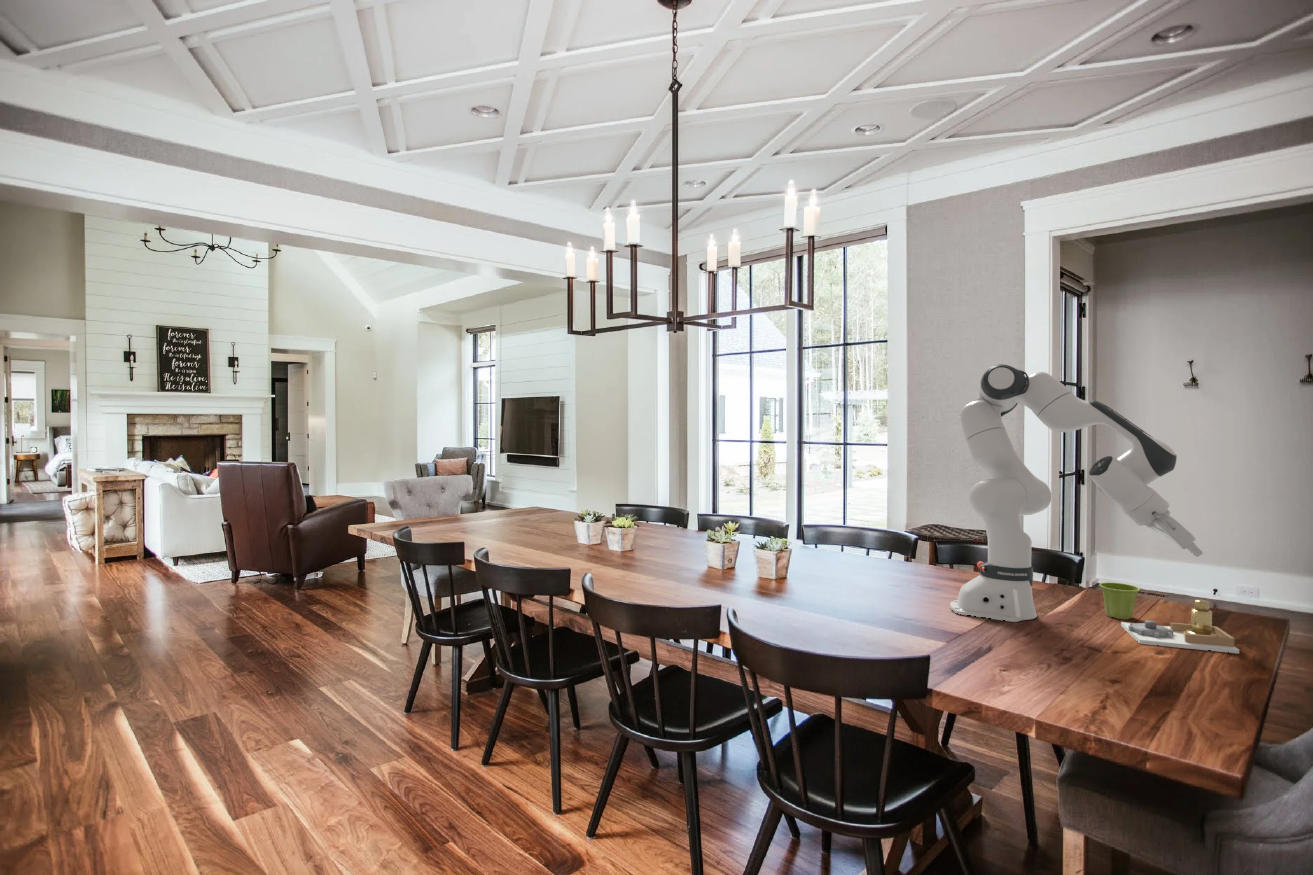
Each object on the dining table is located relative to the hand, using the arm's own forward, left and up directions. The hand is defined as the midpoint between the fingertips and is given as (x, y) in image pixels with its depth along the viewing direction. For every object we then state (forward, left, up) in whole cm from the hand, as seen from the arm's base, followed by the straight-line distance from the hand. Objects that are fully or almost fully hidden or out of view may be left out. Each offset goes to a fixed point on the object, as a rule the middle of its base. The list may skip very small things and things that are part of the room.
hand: (1192, 550), depth 172 cm
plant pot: (-11, +17, -23) cm, 31 cm away
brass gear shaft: (+1, -2, -22) cm, 22 cm away
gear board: (-3, -1, -23) cm, 23 cm away
